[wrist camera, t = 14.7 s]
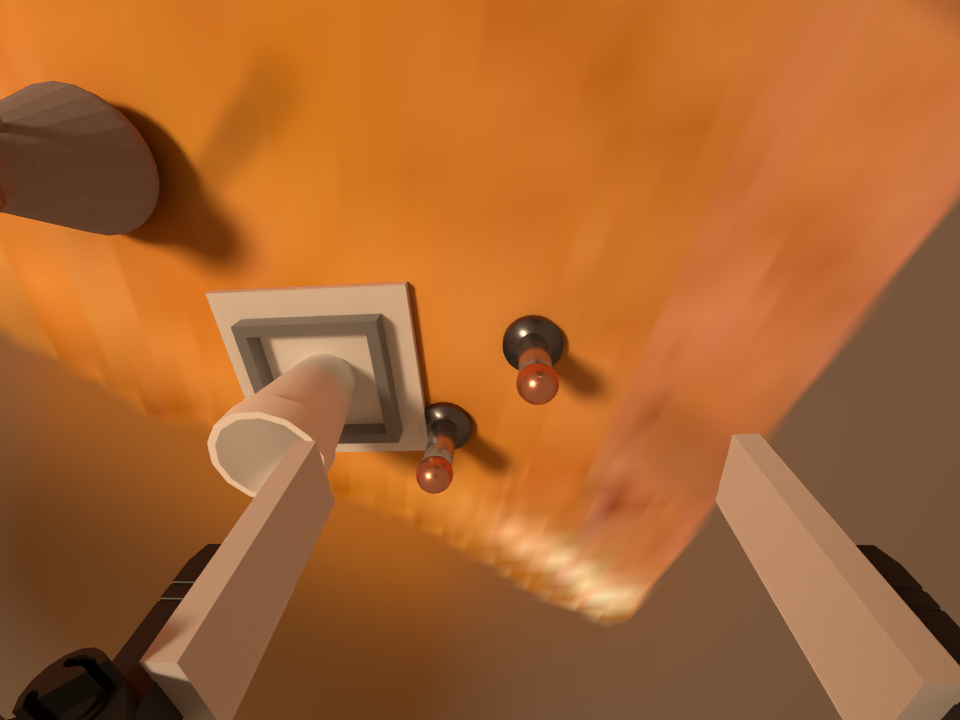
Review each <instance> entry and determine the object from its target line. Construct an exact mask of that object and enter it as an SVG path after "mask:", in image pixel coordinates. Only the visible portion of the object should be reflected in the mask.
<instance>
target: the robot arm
mask: <svg viewBox="0 0 960 720" xmlns="http://www.w3.org/2000/svg"><path fill="white" fill-rule="evenodd" d="M715 501H716V503H717V504H718V506H719V508H720V509H721V511H722V513H723V515H724V516H725V518H726V520H727V521H728V523H729V525H730V527H731V528H732V530H733V532H734V534H735V535H736V537H737V539H738V540H739V542H740V544H741V546H742V547H743V549H744V551H745V552H746V554H747V556H748V558H749V559H750V561H751V563H752V564H753V566H754V568H755V570H756V571H757V573H758V575H759V576H760V578H761V580H762V582H763V583H764V585H765V587H766V589H767V590H768V592H769V594H770V595H771V597H772V599H773V601H774V602H775V604H776V606H777V607H778V609H779V611H780V613H781V614H782V616H783V618H784V620H785V621H786V623H787V625H788V626H789V628H790V630H791V632H792V633H793V635H794V637H795V638H796V640H797V642H798V644H799V645H800V647H801V649H802V650H803V652H804V654H805V655H806V657H807V659H808V661H809V663H810V664H811V666H812V668H813V669H814V671H815V673H816V675H817V676H818V678H819V680H820V681H821V683H822V685H823V687H824V688H825V690H826V692H827V694H828V695H829V697H830V698H831V700H832V702H833V704H834V706H835V707H836V709H837V711H838V712H839V714H840V716H841V718H842V719H843V720H960V627H959V626H958V625H957V624H956V623H955V622H954V621H953V620H952V619H951V618H950V617H949V616H948V614H946V612H944V611H941V609H940V606H939V605H938V604H937V603H936V602H935V601H934V599H933V598H932V597H931V596H930V595H929V594H928V593H927V592H924V591H923V590H922V587H921V586H920V584H918V582H917V581H916V580H915V579H914V578H913V577H912V576H911V575H910V574H909V573H908V572H907V571H906V569H905V568H904V567H903V566H902V565H901V564H900V563H898V562H897V561H895V560H894V559H892V558H891V557H890V556H888V555H887V554H885V553H884V552H883V551H881V550H880V549H878V548H877V547H876V546H874V545H855V544H854V543H853V542H852V541H851V540H850V538H849V537H848V536H847V535H846V534H845V533H844V532H843V530H842V529H841V528H840V527H839V526H838V525H837V523H836V522H835V521H834V520H833V519H832V518H831V516H830V515H829V514H828V513H827V512H826V511H825V509H824V508H823V507H822V506H821V505H820V504H819V502H818V501H817V500H816V499H815V498H814V497H813V496H812V494H811V493H810V492H809V491H808V490H807V489H806V487H805V486H804V485H803V484H802V483H801V482H800V480H799V479H798V478H797V477H796V476H795V475H794V474H793V472H792V471H791V470H790V469H789V468H788V467H787V465H786V464H785V463H784V462H783V461H782V460H781V459H780V457H779V456H778V455H777V454H776V453H775V451H774V450H773V449H772V448H771V447H770V446H769V445H768V443H767V442H766V441H765V440H764V439H763V438H762V436H761V435H760V434H733V436H732V439H731V443H730V447H729V451H728V455H727V458H726V462H725V466H724V470H723V473H722V477H721V481H720V485H719V488H718V492H717V496H716V500H715ZM334 503H335V501H334V497H333V494H332V491H331V487H330V484H329V481H328V477H327V474H326V471H325V467H324V464H323V461H322V458H321V454H320V451H319V448H318V444H317V441H294V442H293V443H292V445H291V446H290V448H289V449H288V451H287V452H286V453H285V455H284V456H283V458H282V459H281V461H280V462H279V463H278V465H277V466H276V468H275V469H274V470H273V472H272V473H271V475H270V476H269V478H268V479H267V480H266V482H265V483H264V485H263V486H262V488H261V489H260V490H259V492H258V493H257V495H256V496H255V498H254V499H253V501H252V502H251V503H250V505H249V506H248V507H247V509H246V510H245V512H244V513H243V515H242V516H241V518H240V519H239V520H238V522H237V523H236V525H235V526H234V527H233V529H232V530H231V532H230V533H229V535H228V536H227V537H226V539H225V540H224V542H223V543H222V544H208V545H206V546H205V547H204V548H203V549H202V550H200V551H199V552H198V553H197V554H196V555H195V556H193V557H192V558H191V559H190V560H189V561H188V562H187V563H186V564H185V566H184V567H183V568H182V570H181V571H180V572H179V574H178V575H177V576H176V578H175V579H174V580H173V581H174V582H173V584H171V585H170V586H169V587H168V588H167V590H166V591H165V592H164V594H163V595H162V596H161V600H160V601H158V602H157V603H156V604H155V606H154V607H153V608H152V610H151V611H150V612H149V613H148V615H147V616H146V618H145V619H144V620H143V622H142V623H141V624H140V625H139V627H138V628H137V629H136V631H135V632H134V633H133V635H132V636H131V637H130V639H129V640H128V641H127V643H126V644H125V645H124V647H123V648H122V649H121V651H120V652H119V653H118V654H117V656H116V657H115V658H114V660H113V661H111V660H110V659H109V658H108V657H107V655H106V654H105V653H104V652H103V651H101V650H99V649H97V648H85V649H80V650H78V651H75V652H72V653H70V654H67V655H65V656H63V657H62V658H60V659H59V660H57V661H56V662H54V663H52V664H51V665H49V666H48V667H47V668H45V669H44V670H43V671H42V672H41V673H40V674H39V675H38V676H37V677H35V678H34V679H33V680H32V681H31V683H30V684H29V685H28V686H27V687H26V689H25V690H24V691H23V693H22V694H21V695H20V696H19V698H18V700H17V702H16V705H15V707H14V709H13V711H12V713H13V714H14V715H15V716H16V717H15V718H12V719H8V720H183V719H184V720H232V719H233V717H234V715H235V713H236V711H237V709H238V707H239V705H240V702H241V700H242V698H243V696H244V694H245V692H246V690H247V688H248V686H249V683H250V681H251V679H252V677H253V675H254V673H255V670H256V669H257V666H258V664H259V662H260V660H261V658H262V656H263V654H264V652H265V650H266V647H267V645H268V643H269V641H270V639H271V637H272V635H273V633H274V630H275V628H276V626H277V624H278V622H279V620H280V618H281V615H282V613H283V611H284V609H285V607H286V605H287V603H288V601H289V599H290V597H291V594H292V592H293V590H294V588H295V586H296V584H297V582H298V580H299V577H300V575H301V573H302V571H303V569H304V567H305V565H306V563H307V560H308V558H309V556H310V554H311V552H312V550H313V548H314V545H315V544H316V541H317V539H318V537H319V535H320V533H321V531H322V529H323V527H324V524H325V522H326V520H327V518H328V516H329V514H330V512H331V510H332V507H333V505H334ZM0 720H5V719H4V718H3V717H2V716H1V715H0Z"/></svg>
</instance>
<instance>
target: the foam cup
mask: <svg viewBox="0 0 960 720" xmlns="http://www.w3.org/2000/svg"><path fill="white" fill-rule="evenodd" d="M355 390H356V376H355V374H354V372H353V370H352V369H351V367H350V365H348V364H347V363H346V362H345V361H343V360H342V359H341V358H340V357H337V356H334V355H331V354H328V353H317V354H312V355H310V356H309V357H307V358H305V359H304V360H302V361H301V362H299V363H298V364H296V365H295V366H294V367H292V368H291V369H289V370H288V371H287V372H285V373H284V374H282V375H281V376H280V377H278V378H277V379H275V380H274V381H273V382H271V383H270V384H268V385H267V386H266V387H264V388H263V389H261V390H260V391H259V392H257V393H256V394H254V395H253V396H252V397H248V398H247V399H245V400H243V401H242V402H240V403H239V404H237V405H235V406H234V407H232V408H231V409H230V410H229V411H228V412H227V413H226V414H225V415H224V416H223V417H222V418H221V419H220V420H219V421H218V422H217V423H216V424H215V425H214V427H213V429H212V432H211V434H210V437H209V439H208V442H207V444H208V449H209V452H210V456H211V461H212V464H213V465H214V466H215V467H216V469H217V470H218V471H219V472H220V474H221V475H222V476H223V477H224V478H225V480H226V481H227V482H228V483H230V484H231V485H233V486H234V487H236V488H237V489H239V490H241V491H242V492H244V493H245V494H247V495H249V496H252V497H255V496H256V495H257V493H258V492H259V490H260V489H261V488H262V486H263V485H264V483H265V482H266V480H267V479H268V478H269V476H270V475H271V473H272V472H273V470H274V469H275V468H276V466H277V465H278V463H279V462H280V461H281V459H282V458H283V456H284V455H285V453H286V452H287V451H288V449H289V448H290V446H291V445H292V443H293V442H294V441H317V444H318V448H319V451H320V454H321V458H322V461H323V464H324V467H325V471H326V474H327V473H328V471H329V469H330V467H331V465H332V463H333V462H334V460H335V450H336V447H337V444H338V441H339V438H340V436H341V433H342V430H343V427H344V424H345V421H346V418H347V415H348V412H349V409H350V406H351V403H352V400H353V397H354V394H355Z"/></svg>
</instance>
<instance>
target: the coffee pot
mask: <svg viewBox="0 0 960 720" xmlns="http://www.w3.org/2000/svg"><path fill="white" fill-rule="evenodd" d="M159 186H160V182H159V176H158V171H157V165H156V163H155V161H154V158H153V156H152V153H151V151H150V149H149V147H148V145H147V143H146V142H145V140H144V139H143V137H142V136H141V134H140V133H139V131H138V130H137V128H136V127H135V126H134V125H133V124H132V123H131V122H130V121H129V120H128V119H127V118H126V117H125V116H124V115H123V114H122V113H121V112H120V111H118V110H117V109H116V108H114V107H113V106H112V105H110V104H109V103H107V102H106V101H105V100H103V99H102V98H100V97H99V96H97V95H95V94H93V93H91V92H89V91H87V90H84V89H82V88H80V87H78V86H75V85H72V84H67V83H61V82H56V81H49V82H43V83H36V84H31V85H29V86H27V87H25V88H23V89H21V90H20V91H18V92H16V93H14V94H12V95H10V96H8V97H6V98H4V99H2V100H0V212H3V213H8V214H12V215H16V216H21V217H25V218H30V219H34V220H38V221H43V222H47V223H52V224H56V225H60V226H65V227H69V228H73V229H78V230H82V231H87V232H91V233H97V234H103V235H118V234H126V233H128V232H130V231H133V230H135V229H137V228H139V227H141V226H142V224H143V223H144V222H145V221H146V220H147V219H148V218H149V217H150V216H151V214H152V213H153V211H154V209H155V206H156V204H157V201H158V199H159Z"/></svg>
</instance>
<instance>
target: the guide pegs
mask: <svg viewBox="0 0 960 720" xmlns="http://www.w3.org/2000/svg"><path fill="white" fill-rule="evenodd" d="M562 350H563V340H562V336H561V333H560V331H559V329H558V327H557V326H556V325H555V324H554V323H553V322H552V321H551V320H549V319H547V318H545V317H542V316H537V315H530V316H524V317H522V318H519V319H517V320H516V321H514V322H513V323H512V324H511V325H510V326H509V327H508V328H507V330H506V332H505V334H504V338H503V352H504V355H505V358H506V360H507V361H508V362H509V364H510V365H512V366H513V367H514V368H516V369H517V370H519V375H518V377H517V383H516V385H517V390H518V393H519V395H520V396H521V397H522V398H523V399H524V400H525V401H526V402H528V403H530V404H534V405H542V404H546V403H548V402H550V401H551V400H552V399H553V398H554V397H555V396H556V394H557V392H558V389H559V379H558V376H557V374H556V372H555V371H554V370H553V367H552V366H553V365H554V364H555V363H556V362H557V361H558V360H559V358H560V356H561V354H562ZM424 414H425V419H424V420H425V421H426V428H427V434H426V435H428V437H427V438H428V440H427V445H426V449H425V453H424V457H423V460H422V462H421V463H420V464H419V466H418V468H417V471H416V479H417V482H418V484H419V486H420V487H421V488H422V489H423V490H424V491H426V492H428V493H433V494H435V493H440V492H442V491H444V490H446V489H447V488H448V487H449V485H450V484H451V482H452V479H453V469H452V461H453V455H454V449H457V448H459V447H461V446H463V445H464V444H465V443H466V442H467V441H468V439H469V437H470V433H471V420H470V417H469V415H468V414H467V413H466V412H465V410H463V409H462V408H461V407H459V406H457V405H455V404H452V403H447V402H441V403H435V404H432V405H430V406H429V407H427V408H426V410H425V413H424ZM421 418H422V417H421ZM422 423H423V422H422ZM419 424H420V423H419ZM422 425H423V424H422ZM424 425H425V424H424ZM424 425H423V426H424ZM424 429H425V428H424ZM419 430H420V429H419ZM421 430H422V429H421ZM421 432H423V431H421ZM423 434H424V433H423Z"/></svg>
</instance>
